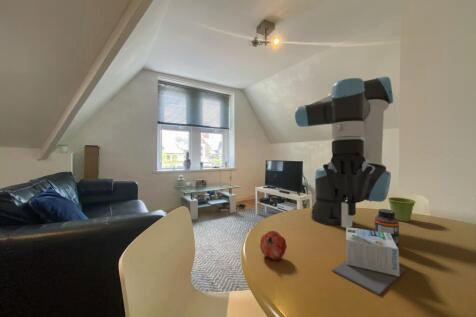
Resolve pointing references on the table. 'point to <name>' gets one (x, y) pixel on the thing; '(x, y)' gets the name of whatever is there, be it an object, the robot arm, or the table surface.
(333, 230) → the table surface
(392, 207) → the plant pot
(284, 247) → the red round fruit
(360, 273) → the mat
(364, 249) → the light bulb box
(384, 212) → the supplement bottle
